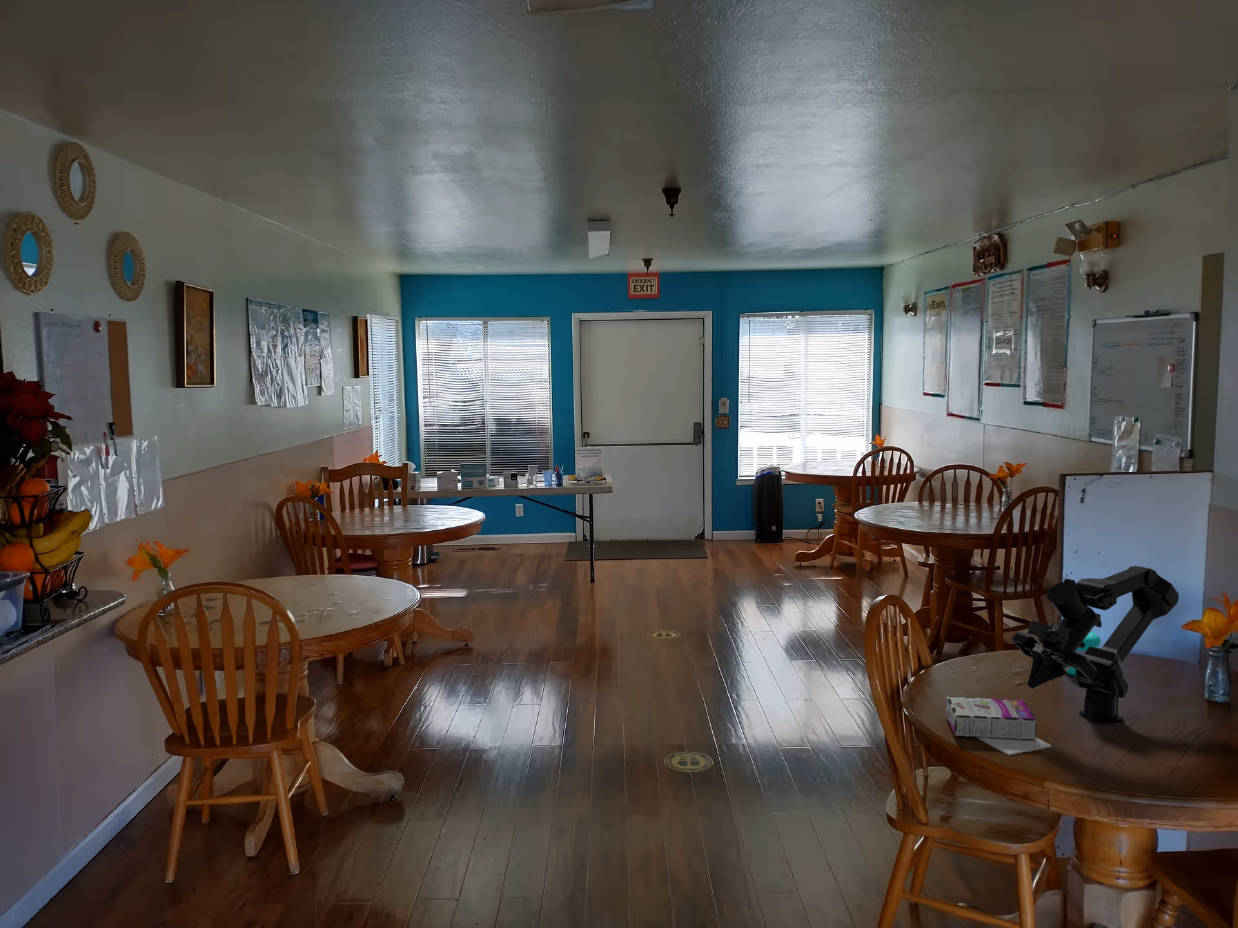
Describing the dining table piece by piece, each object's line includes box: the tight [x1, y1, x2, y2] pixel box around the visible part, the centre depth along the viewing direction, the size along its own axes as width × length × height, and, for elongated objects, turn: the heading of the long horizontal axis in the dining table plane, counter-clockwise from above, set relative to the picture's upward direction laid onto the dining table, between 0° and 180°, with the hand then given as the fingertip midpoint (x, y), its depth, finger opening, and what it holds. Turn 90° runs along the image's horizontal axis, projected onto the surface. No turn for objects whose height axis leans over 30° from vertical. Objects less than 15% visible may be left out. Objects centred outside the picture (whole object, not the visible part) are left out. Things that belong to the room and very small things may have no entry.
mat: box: [975, 737, 1052, 756], centre depth 191 cm, size 11×12×1 cm
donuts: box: [1067, 631, 1102, 677], centre depth 230 cm, size 10×10×10 cm
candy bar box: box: [945, 696, 1037, 740], centre depth 195 cm, size 11×5×16 cm
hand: (1029, 686), depth 191 cm, fingers closed
